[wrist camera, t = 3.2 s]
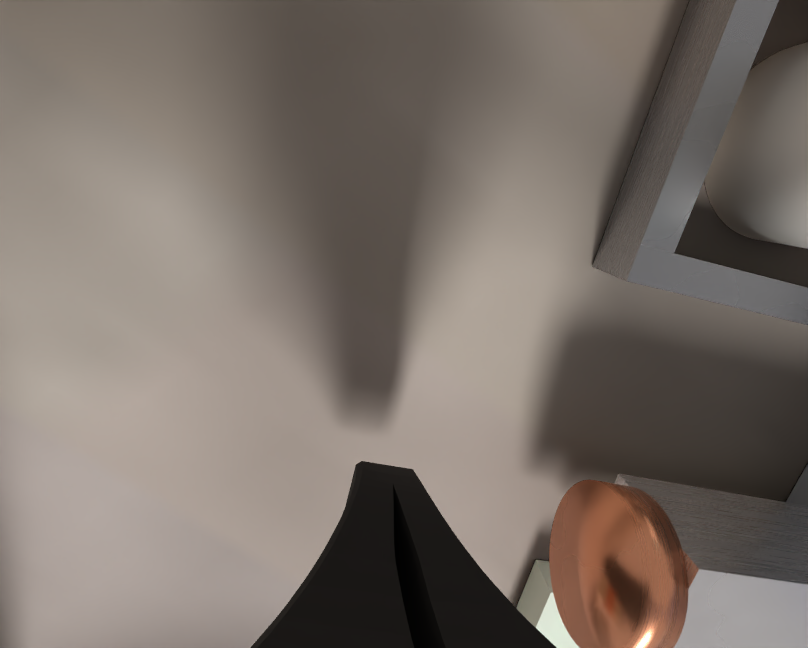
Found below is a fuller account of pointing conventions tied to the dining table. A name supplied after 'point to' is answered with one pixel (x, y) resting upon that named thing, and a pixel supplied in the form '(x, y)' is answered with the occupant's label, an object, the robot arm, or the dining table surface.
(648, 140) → the collar
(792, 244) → the cylinder
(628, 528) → the copper knob grey block
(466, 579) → the robot arm
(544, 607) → the tray
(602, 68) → the dining table surface
